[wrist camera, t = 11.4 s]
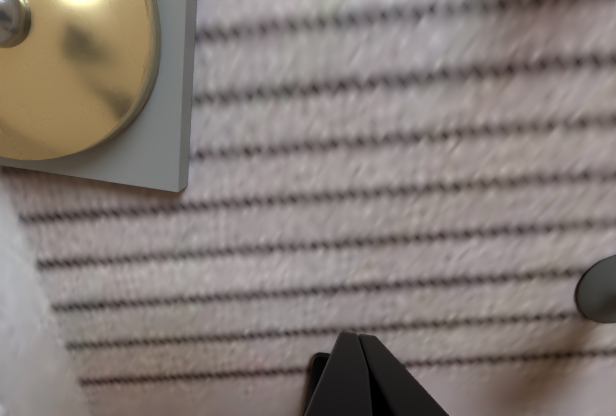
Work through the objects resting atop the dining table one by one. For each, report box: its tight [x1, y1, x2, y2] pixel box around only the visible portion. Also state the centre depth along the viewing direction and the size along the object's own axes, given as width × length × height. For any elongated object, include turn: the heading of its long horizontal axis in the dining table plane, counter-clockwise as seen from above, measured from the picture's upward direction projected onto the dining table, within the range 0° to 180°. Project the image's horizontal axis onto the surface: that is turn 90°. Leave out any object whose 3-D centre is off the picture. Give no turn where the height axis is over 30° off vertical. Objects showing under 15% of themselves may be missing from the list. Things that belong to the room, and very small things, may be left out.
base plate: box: [0, 0, 197, 192], centre depth 17 cm, size 15×15×2 cm
